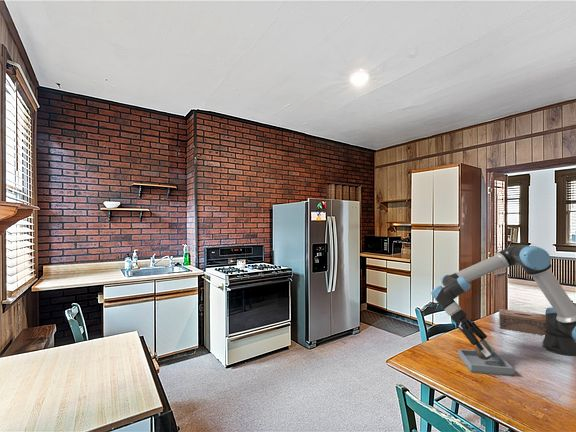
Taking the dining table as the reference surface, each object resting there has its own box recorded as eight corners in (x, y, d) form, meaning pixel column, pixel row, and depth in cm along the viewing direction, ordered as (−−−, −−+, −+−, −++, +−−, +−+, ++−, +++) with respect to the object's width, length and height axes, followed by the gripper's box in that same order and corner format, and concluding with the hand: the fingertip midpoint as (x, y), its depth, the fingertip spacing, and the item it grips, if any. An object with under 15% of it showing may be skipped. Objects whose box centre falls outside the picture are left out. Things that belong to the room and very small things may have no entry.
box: (495, 358, 155) (495, 351, 155) (514, 376, 138) (513, 368, 138) (458, 355, 159) (457, 349, 159) (471, 372, 141) (471, 365, 141)
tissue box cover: (547, 330, 195) (546, 314, 195) (551, 337, 183) (550, 321, 183) (499, 322, 209) (499, 308, 210) (500, 329, 198) (499, 314, 198)
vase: (489, 356, 151) (488, 338, 151) (493, 362, 144) (493, 344, 144) (473, 354, 153) (473, 337, 153) (477, 360, 146) (477, 342, 146)
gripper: (458, 312, 167) (492, 351, 154) (442, 320, 155) (477, 363, 142) (468, 305, 163) (504, 344, 150) (453, 312, 151) (490, 355, 138)
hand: (491, 353), depth 146 cm, fingers closed on vase, 6 cm apart
